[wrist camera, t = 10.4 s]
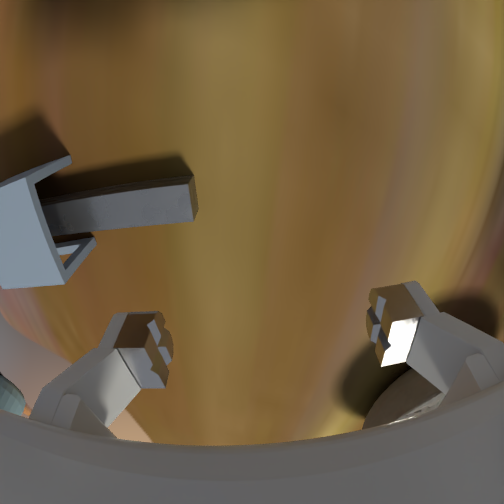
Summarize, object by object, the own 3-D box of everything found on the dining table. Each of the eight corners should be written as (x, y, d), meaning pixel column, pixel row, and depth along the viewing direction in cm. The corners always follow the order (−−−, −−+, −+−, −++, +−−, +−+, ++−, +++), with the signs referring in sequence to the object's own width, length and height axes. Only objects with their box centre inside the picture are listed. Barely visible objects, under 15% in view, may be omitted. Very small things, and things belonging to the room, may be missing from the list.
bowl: (405, 431, 50) (417, 469, 41) (311, 416, 42) (319, 470, 33) (506, 348, 38) (529, 386, 30) (448, 297, 31) (487, 353, 22)
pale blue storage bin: (70, 155, 22) (25, 177, 16) (96, 244, 27) (64, 284, 21) (9, 178, 23) (-34, 202, 17) (35, 254, 27) (2, 289, 21)
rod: (194, 173, 24) (188, 184, 21) (199, 207, 26) (193, 221, 23) (3, 207, 25) (-13, 218, 22) (11, 231, 26) (-4, 243, 23)
